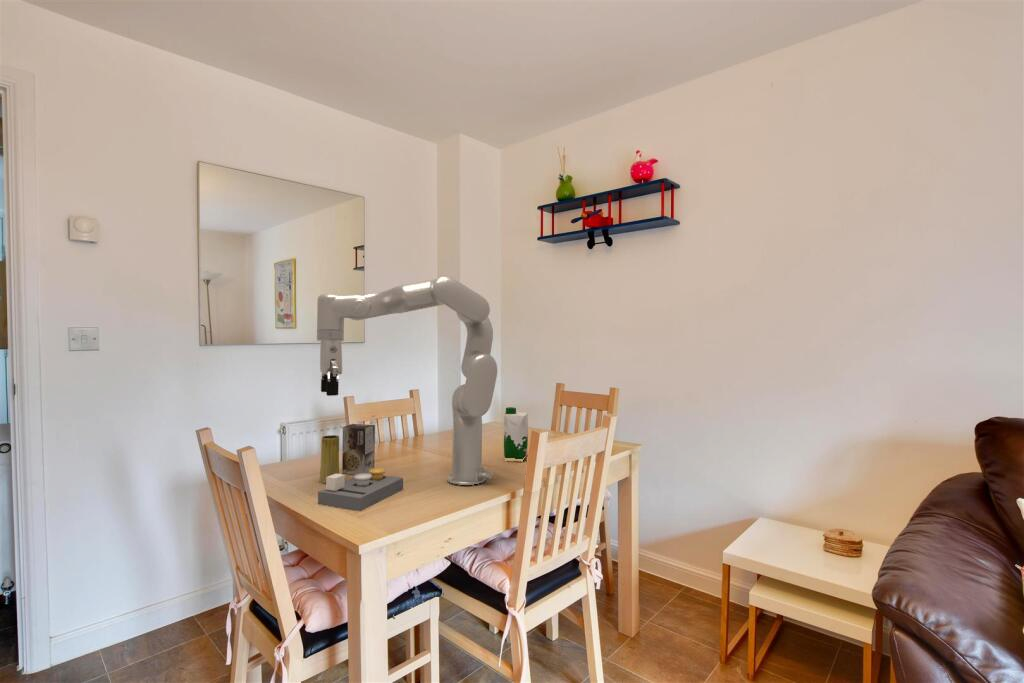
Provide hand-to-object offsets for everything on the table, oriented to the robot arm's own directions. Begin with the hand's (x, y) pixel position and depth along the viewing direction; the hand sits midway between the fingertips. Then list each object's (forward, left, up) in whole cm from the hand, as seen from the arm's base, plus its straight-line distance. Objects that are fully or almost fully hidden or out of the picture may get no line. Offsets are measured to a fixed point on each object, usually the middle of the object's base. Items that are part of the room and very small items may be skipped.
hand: (329, 393), depth 148 cm
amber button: (-11, -8, -27) cm, 30 cm away
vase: (+7, -10, -30) cm, 32 cm away
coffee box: (+5, -22, -30) cm, 37 cm away
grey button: (-11, -1, -26) cm, 29 cm away
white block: (-8, +6, -28) cm, 30 cm away
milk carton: (-38, -61, -30) cm, 77 cm away
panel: (-12, -1, -30) cm, 32 cm away
